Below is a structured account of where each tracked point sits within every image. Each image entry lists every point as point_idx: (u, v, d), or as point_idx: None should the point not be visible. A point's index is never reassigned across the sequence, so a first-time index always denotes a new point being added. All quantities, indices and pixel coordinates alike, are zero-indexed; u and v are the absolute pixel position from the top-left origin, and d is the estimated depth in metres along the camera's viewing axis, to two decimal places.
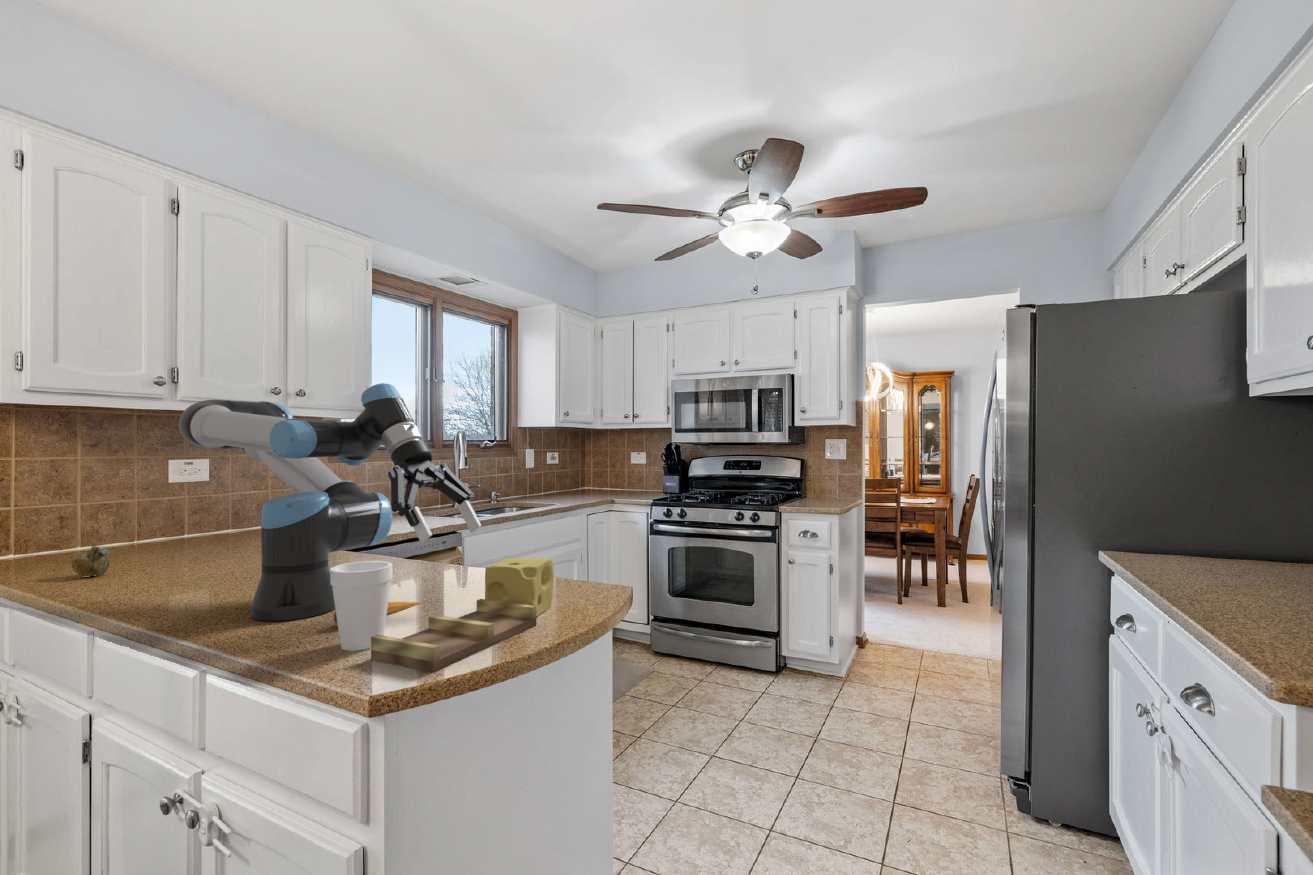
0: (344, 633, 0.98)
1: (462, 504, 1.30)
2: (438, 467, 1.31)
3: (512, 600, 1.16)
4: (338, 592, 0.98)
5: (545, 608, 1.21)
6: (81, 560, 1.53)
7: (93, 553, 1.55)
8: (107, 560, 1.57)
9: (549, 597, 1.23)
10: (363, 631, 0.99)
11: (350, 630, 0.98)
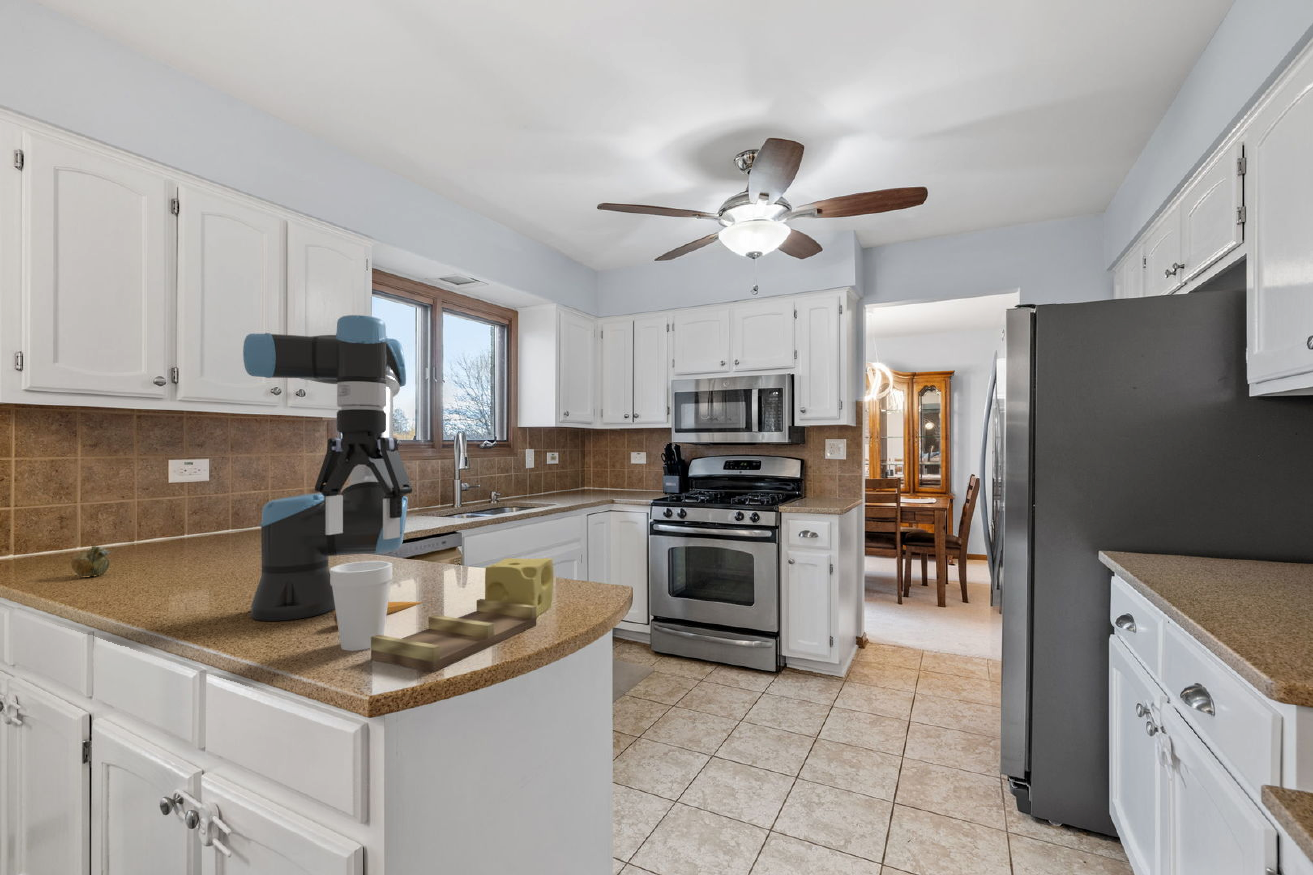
0: (344, 633, 0.98)
1: None
2: None
3: (512, 600, 1.16)
4: (338, 592, 0.98)
5: (545, 608, 1.21)
6: (81, 560, 1.53)
7: (93, 552, 1.55)
8: (107, 560, 1.57)
9: (549, 597, 1.23)
10: (363, 631, 0.99)
11: (350, 630, 0.98)
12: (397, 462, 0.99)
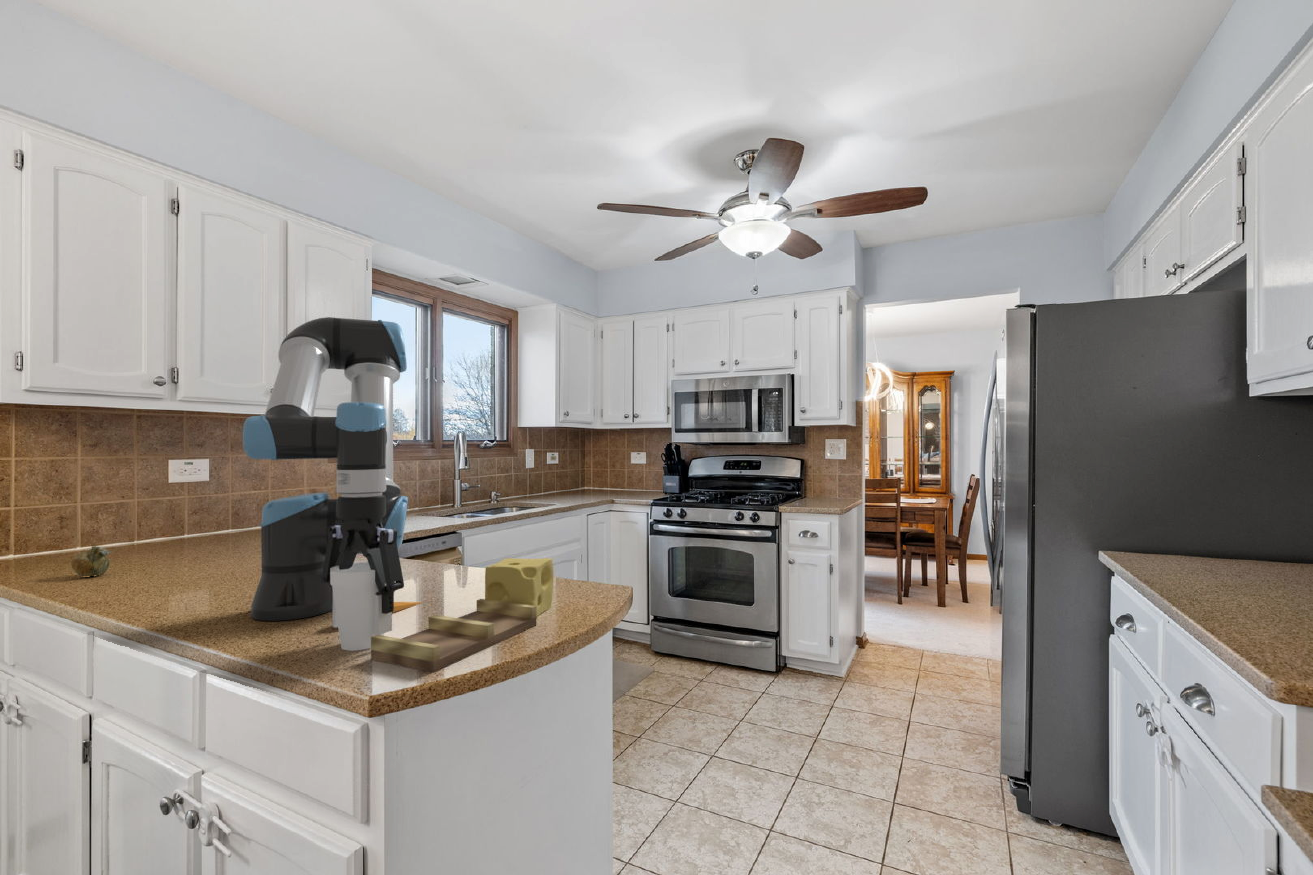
0: (344, 633, 0.98)
1: None
2: (381, 532, 0.99)
3: (512, 600, 1.16)
4: (338, 592, 0.98)
5: (545, 608, 1.21)
6: (81, 560, 1.53)
7: (93, 553, 1.55)
8: (107, 560, 1.57)
9: (549, 597, 1.23)
10: (363, 631, 0.99)
11: (350, 630, 0.98)
12: (393, 556, 0.99)
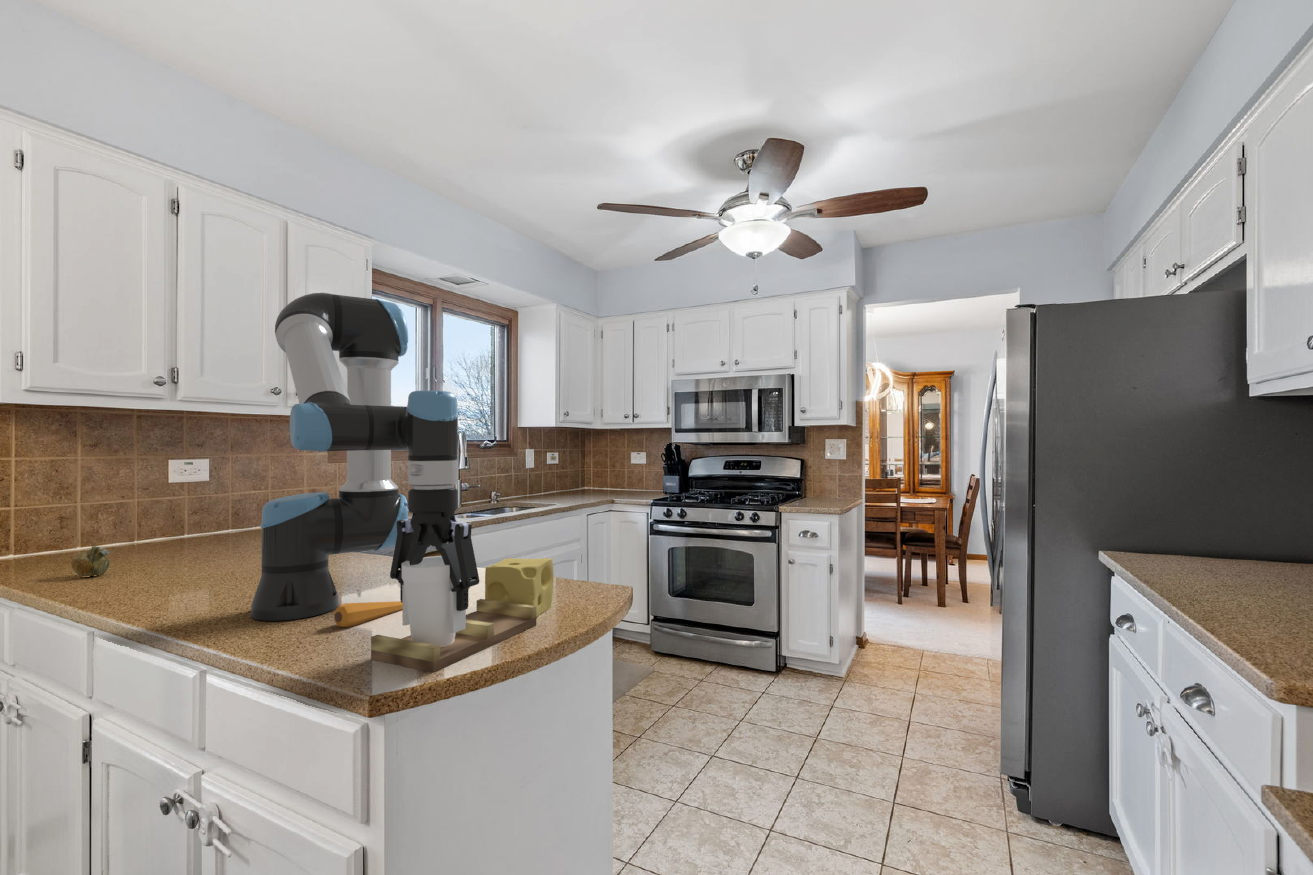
0: (417, 631, 0.94)
1: None
2: (455, 525, 0.95)
3: (512, 600, 1.16)
4: (411, 588, 0.94)
5: (545, 608, 1.21)
6: (81, 560, 1.53)
7: (93, 552, 1.55)
8: (107, 560, 1.57)
9: (549, 597, 1.23)
10: (437, 629, 0.94)
11: (424, 628, 0.94)
12: (468, 551, 0.95)
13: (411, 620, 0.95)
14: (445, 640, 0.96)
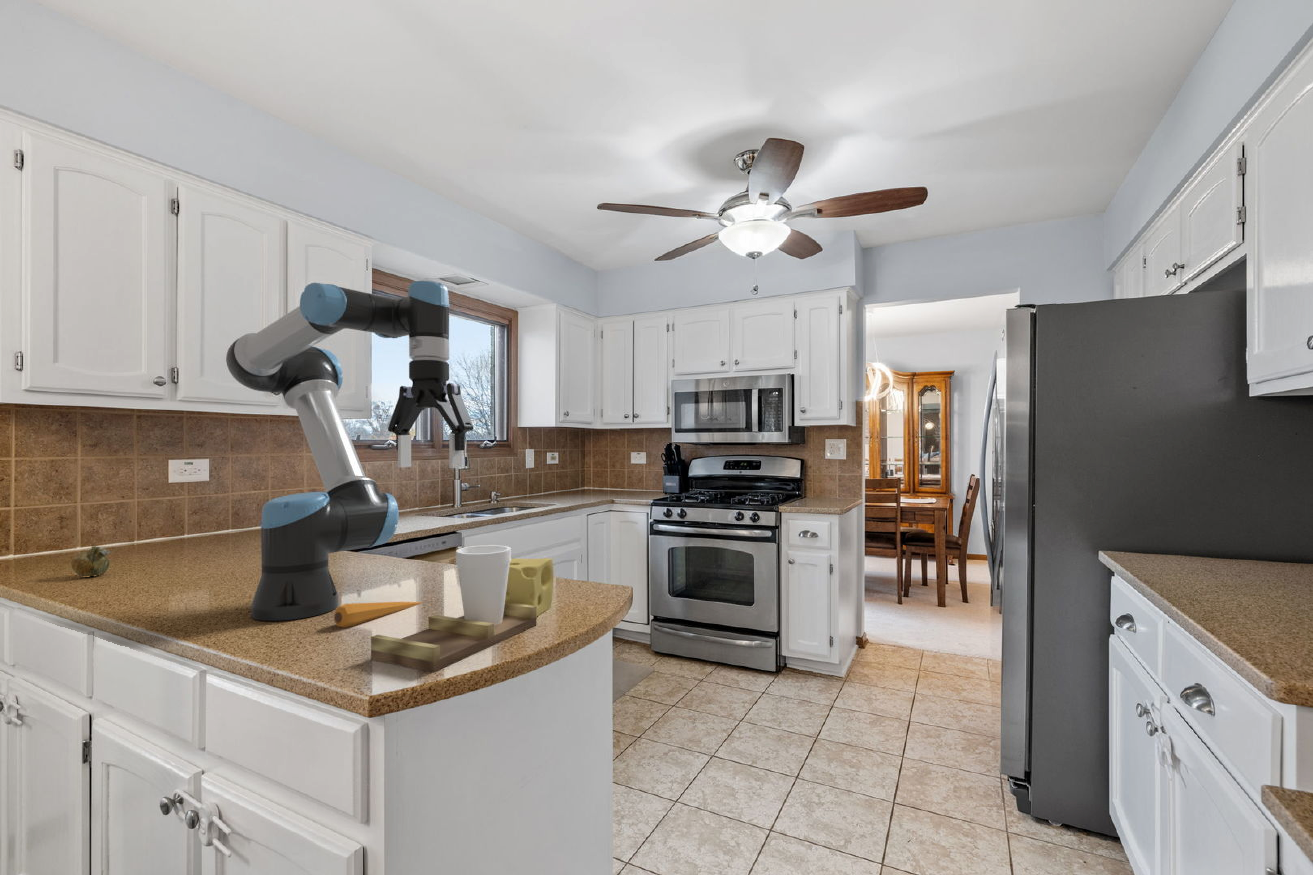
0: (471, 611, 1.05)
1: None
2: (447, 387, 1.18)
3: (512, 600, 1.16)
4: (466, 573, 1.05)
5: (545, 608, 1.21)
6: (81, 560, 1.53)
7: (93, 553, 1.55)
8: (107, 560, 1.57)
9: (549, 597, 1.23)
10: (488, 609, 1.05)
11: (477, 608, 1.05)
12: (461, 404, 1.18)
13: (465, 601, 1.06)
14: (495, 620, 1.06)
